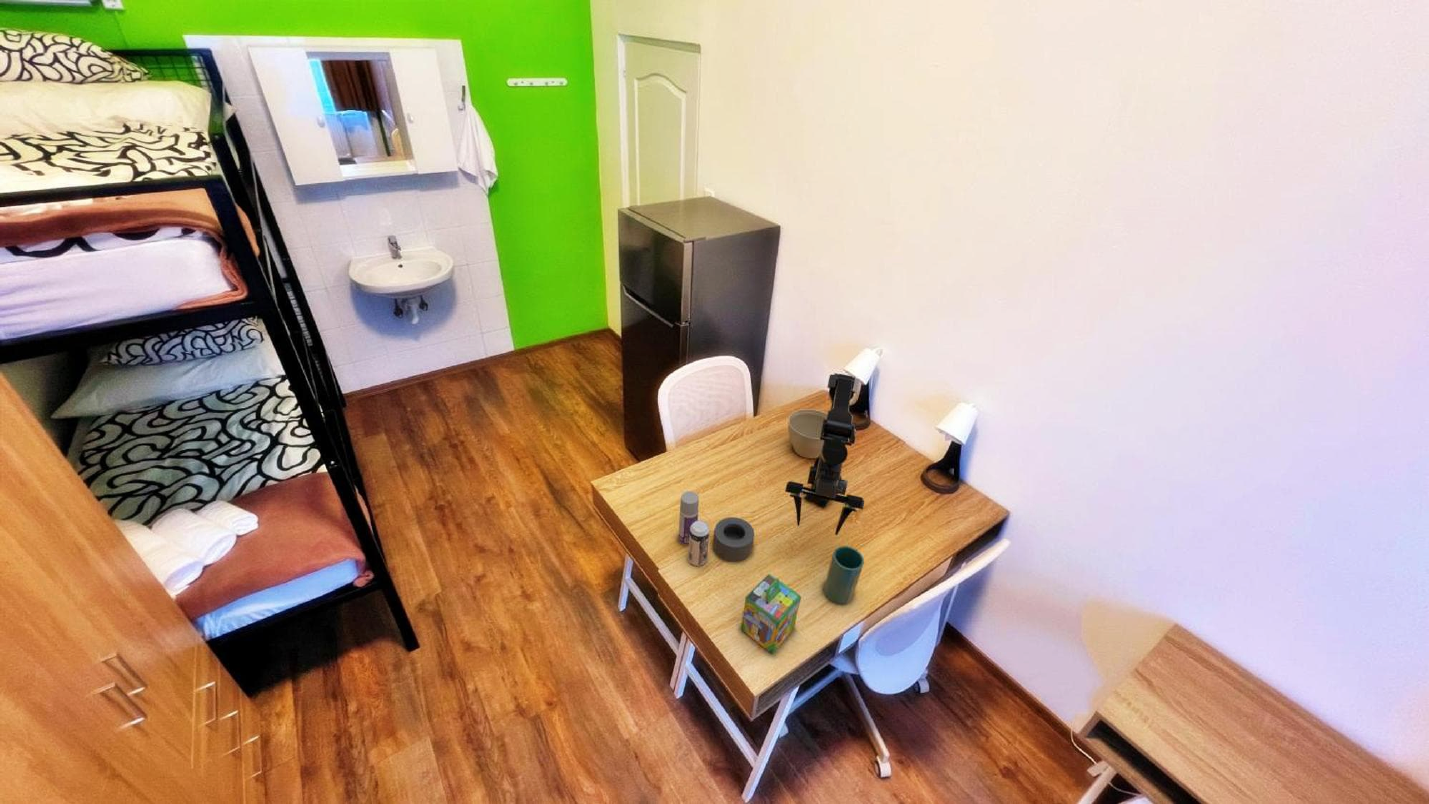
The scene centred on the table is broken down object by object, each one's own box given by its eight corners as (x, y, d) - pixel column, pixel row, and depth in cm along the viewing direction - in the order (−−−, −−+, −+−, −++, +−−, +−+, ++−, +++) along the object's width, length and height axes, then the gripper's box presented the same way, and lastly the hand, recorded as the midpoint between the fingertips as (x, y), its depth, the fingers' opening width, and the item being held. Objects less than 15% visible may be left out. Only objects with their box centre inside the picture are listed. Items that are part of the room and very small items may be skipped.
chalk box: (772, 655, 121) (781, 613, 112) (739, 629, 125) (746, 587, 117) (795, 627, 127) (806, 586, 118) (763, 603, 131) (771, 562, 123)
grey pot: (726, 526, 151) (727, 511, 148) (758, 543, 147) (761, 528, 144) (705, 549, 144) (706, 534, 141) (739, 568, 140) (741, 553, 137)
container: (698, 535, 148) (702, 493, 139) (692, 548, 144) (695, 506, 136) (682, 530, 149) (684, 488, 140) (675, 542, 145) (677, 500, 137)
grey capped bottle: (704, 568, 139) (707, 535, 132) (686, 564, 139) (688, 531, 133) (708, 554, 143) (711, 521, 136) (690, 550, 143) (692, 517, 137)
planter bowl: (836, 467, 175) (843, 440, 169) (786, 464, 175) (791, 436, 169) (828, 436, 189) (834, 410, 183) (781, 433, 188) (786, 407, 182)
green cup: (830, 575, 140) (840, 541, 133) (856, 589, 137) (868, 555, 130) (819, 594, 135) (828, 560, 128) (846, 609, 132) (857, 575, 125)
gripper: (792, 456, 130) (778, 522, 128) (872, 474, 127) (859, 542, 125) (792, 459, 141) (779, 520, 139) (866, 476, 138) (854, 538, 136)
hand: (817, 530), depth 134 cm, fingers open, 9 cm apart
